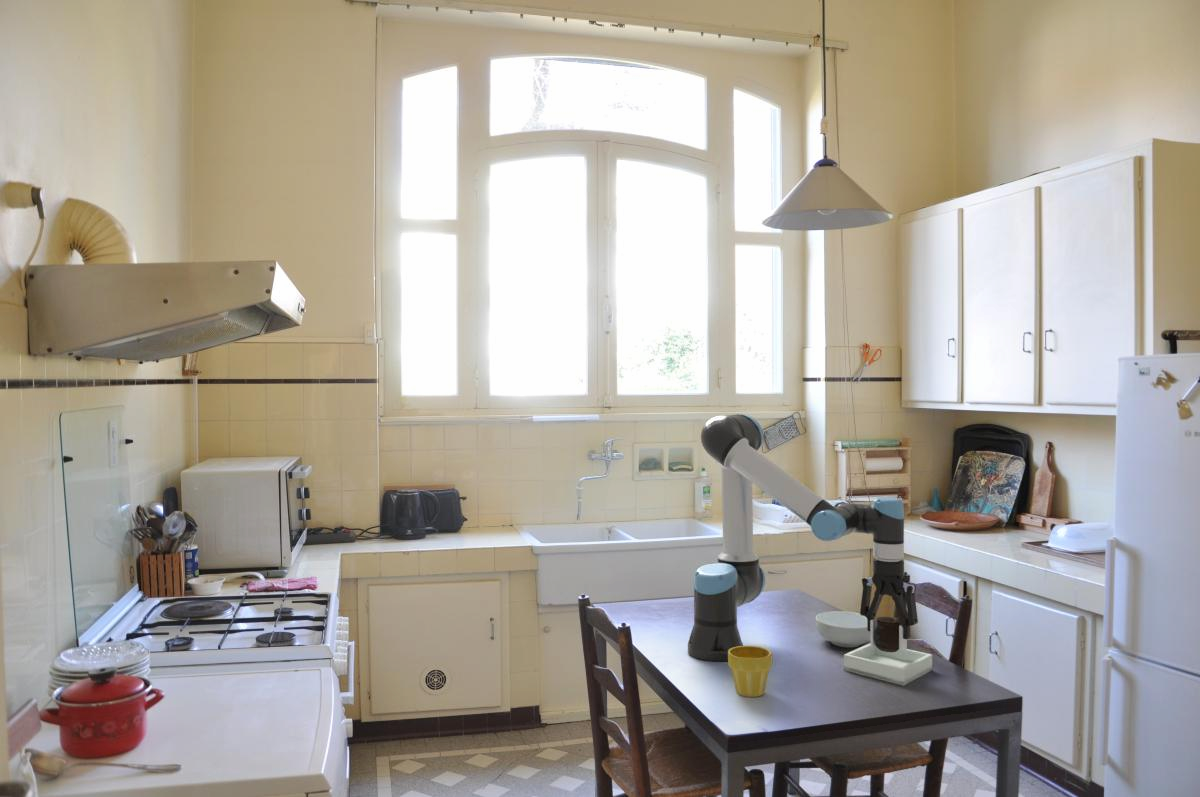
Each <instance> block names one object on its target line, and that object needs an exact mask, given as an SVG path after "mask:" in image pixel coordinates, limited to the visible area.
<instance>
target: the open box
mask: <svg viewBox="0 0 1200 797" xmlns="http://www.w3.org/2000/svg"><path fill="white" fill-rule="evenodd" d="M843 671H846V672H849V673H854V674H857V675H860V676H865V677H867V678H868V677H869V678H872V679H875V680H880V681H883V682H888V683H892V684H895V685H900V686H901V687H902V686H903V687H904V686H906V685H908V684H909V683H911V682H913V681H915V680H917V679H919V678H920V677H922V676H925V675H926V674H928V673H930V672H932V671H933V654H931V653H926V652H923V651H918V650H913V649H908V648H907V650H906V651H904V652H899V650H898V651H896V652H884V651H881V650H879V649H878V648H877V647H876V645H874V646H872V645H870V642H868V643H866V644H864V645H861V647H860V646H859V647H857V648H855V649H853V650H851V651H849V652H847V653H845V654H843Z"/></svg>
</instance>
